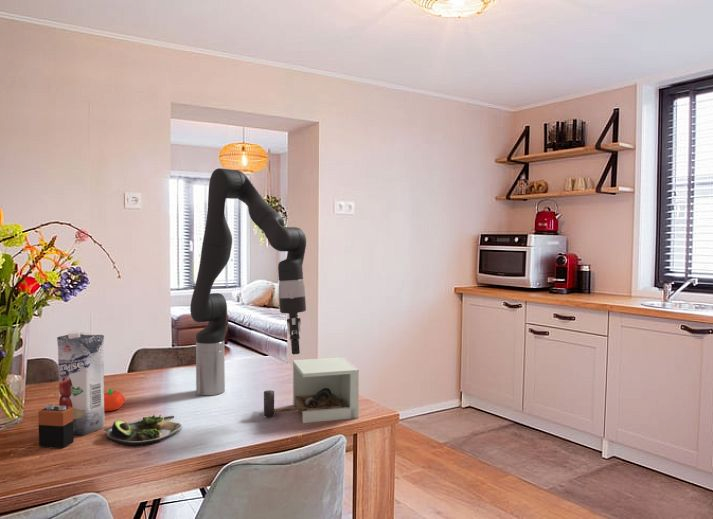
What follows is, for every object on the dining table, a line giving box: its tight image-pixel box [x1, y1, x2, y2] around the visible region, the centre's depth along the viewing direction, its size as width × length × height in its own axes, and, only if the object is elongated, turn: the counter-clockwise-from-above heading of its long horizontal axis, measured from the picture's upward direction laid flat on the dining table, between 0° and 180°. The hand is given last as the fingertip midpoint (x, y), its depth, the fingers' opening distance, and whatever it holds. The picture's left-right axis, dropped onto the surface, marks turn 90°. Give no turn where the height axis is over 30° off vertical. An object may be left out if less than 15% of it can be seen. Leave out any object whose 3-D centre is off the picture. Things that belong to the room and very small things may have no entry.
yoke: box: [263, 390, 345, 418], centre depth 161 cm, size 22×14×7 cm, turn 106°
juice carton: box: [56, 330, 105, 437], centre depth 146 cm, size 9×10×27 cm
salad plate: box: [103, 414, 183, 448], centre depth 145 cm, size 19×18×5 cm
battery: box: [37, 403, 74, 449], centre depth 136 cm, size 4×7×10 cm, turn 82°
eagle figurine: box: [305, 388, 331, 408], centre depth 163 cm, size 8×7×9 cm
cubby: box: [292, 356, 360, 424], centre depth 163 cm, size 16×17×14 cm
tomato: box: [104, 388, 126, 412], centre depth 164 cm, size 7×8×6 cm
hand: (295, 351), depth 157 cm, fingers open, 8 cm apart
